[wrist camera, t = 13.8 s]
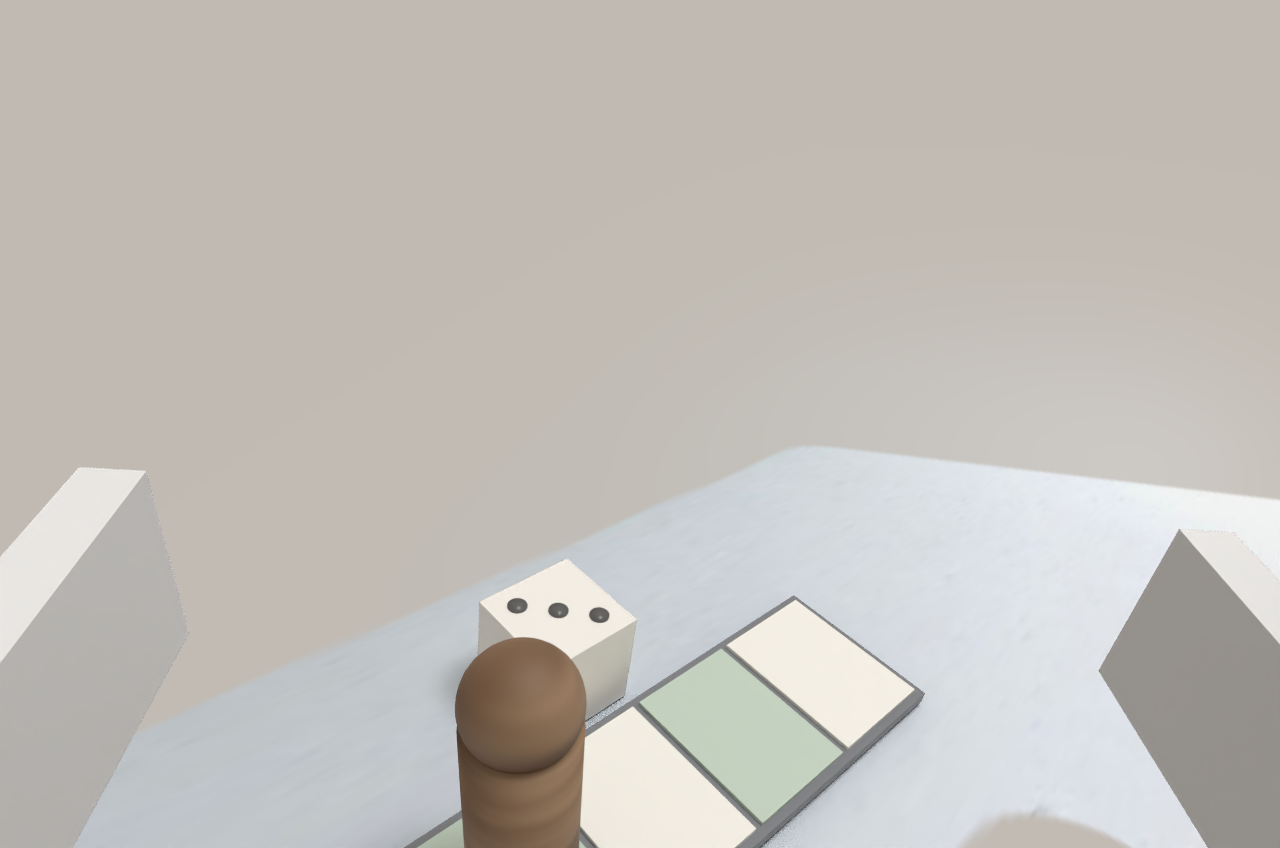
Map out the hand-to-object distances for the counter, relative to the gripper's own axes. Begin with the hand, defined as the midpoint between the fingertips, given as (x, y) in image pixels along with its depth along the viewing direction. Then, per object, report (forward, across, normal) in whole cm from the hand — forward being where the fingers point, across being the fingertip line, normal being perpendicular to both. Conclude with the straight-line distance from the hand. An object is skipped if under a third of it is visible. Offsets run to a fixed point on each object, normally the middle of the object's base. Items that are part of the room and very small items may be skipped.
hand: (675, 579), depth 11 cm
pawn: (+9, -2, -24) cm, 26 cm away
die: (+19, -2, -25) cm, 32 cm away
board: (+13, +2, -25) cm, 28 cm away
